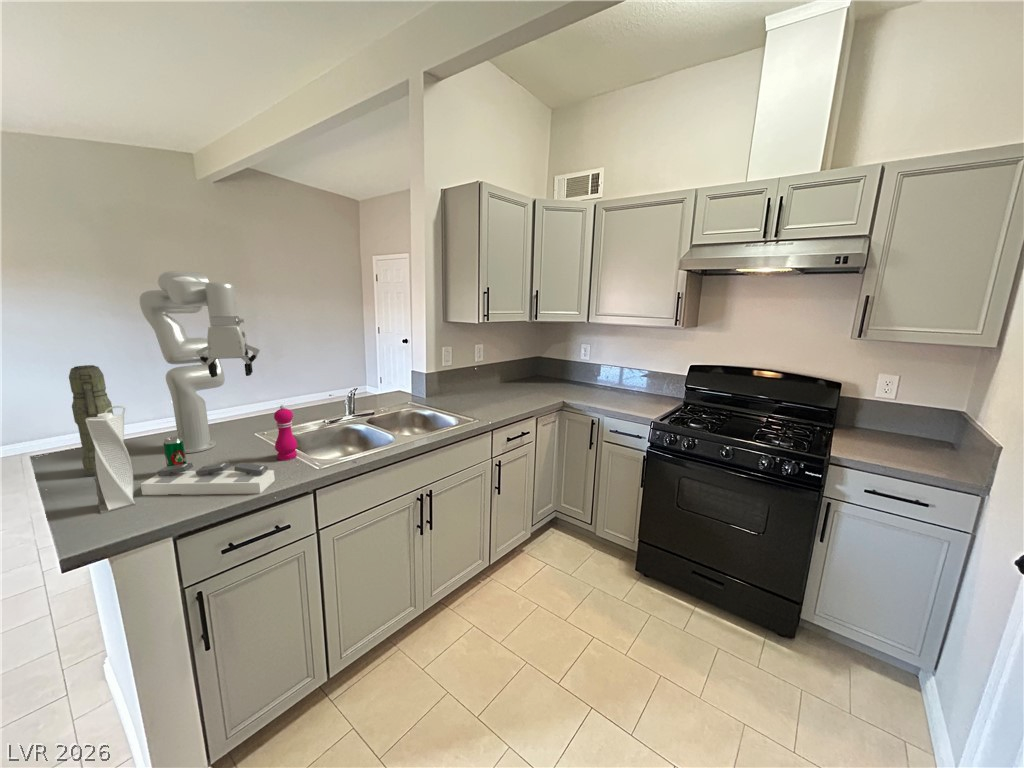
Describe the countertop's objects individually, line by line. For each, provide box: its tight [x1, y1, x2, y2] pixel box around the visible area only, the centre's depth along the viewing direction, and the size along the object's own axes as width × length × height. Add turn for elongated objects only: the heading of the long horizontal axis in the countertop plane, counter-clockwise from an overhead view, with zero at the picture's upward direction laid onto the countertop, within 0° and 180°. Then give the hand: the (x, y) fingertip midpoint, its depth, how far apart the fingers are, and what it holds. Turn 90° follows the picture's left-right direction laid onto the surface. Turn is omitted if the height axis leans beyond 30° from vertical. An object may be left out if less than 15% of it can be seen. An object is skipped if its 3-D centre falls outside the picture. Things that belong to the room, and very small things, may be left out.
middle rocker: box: [194, 462, 231, 476], centre depth 126 cm, size 8×4×2 cm, turn 95°
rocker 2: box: [233, 462, 269, 475], centre depth 127 cm, size 8×4×2 cm, turn 95°
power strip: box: [140, 469, 276, 496], centre depth 125 cm, size 33×9×4 cm, turn 95°
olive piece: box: [68, 364, 114, 477], centre depth 130 cm, size 9×12×35 cm
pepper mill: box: [273, 404, 298, 461], centre depth 148 cm, size 7×7×20 cm
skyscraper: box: [85, 405, 136, 515], centre depth 111 cm, size 8×8×28 cm
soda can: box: [162, 435, 187, 467], centre depth 133 cm, size 5×5×12 cm
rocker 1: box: [156, 462, 194, 476], centre depth 125 cm, size 8×4×2 cm, turn 95°
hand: (231, 376), depth 131 cm, fingers open, 9 cm apart
